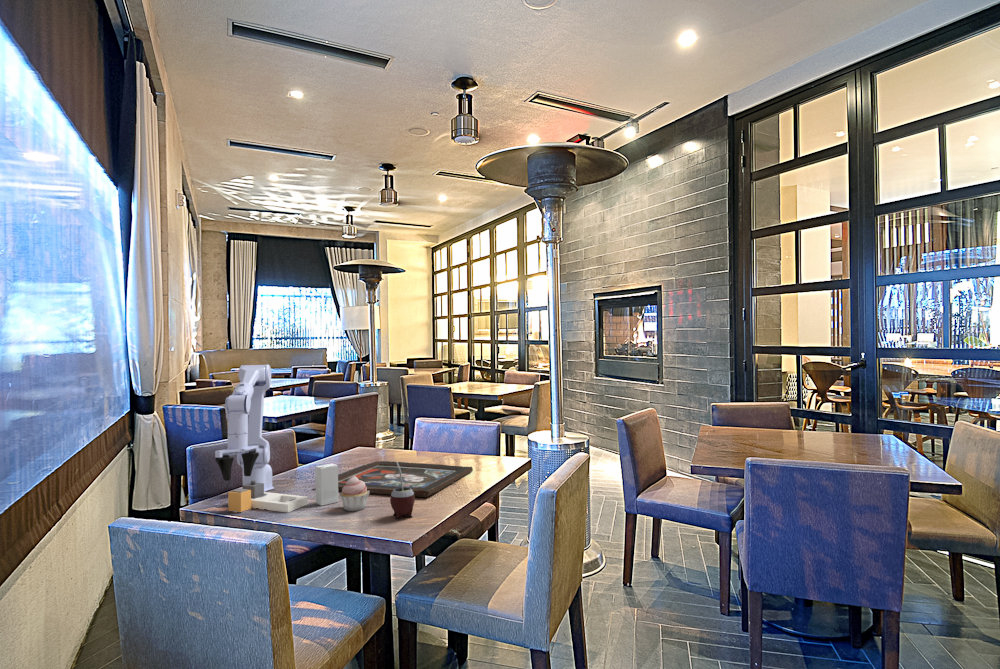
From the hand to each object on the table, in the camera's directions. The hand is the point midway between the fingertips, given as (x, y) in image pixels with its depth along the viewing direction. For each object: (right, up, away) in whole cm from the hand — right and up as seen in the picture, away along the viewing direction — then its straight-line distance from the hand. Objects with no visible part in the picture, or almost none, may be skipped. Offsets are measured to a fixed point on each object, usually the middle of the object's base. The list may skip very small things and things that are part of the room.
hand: (237, 478), depth 176 cm
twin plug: (+2, -10, +8) cm, 13 cm away
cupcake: (+36, -10, 0) cm, 37 cm away
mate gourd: (+52, -9, -8) cm, 54 cm away
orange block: (+1, -10, 0) cm, 10 cm away
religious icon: (+44, -10, +35) cm, 57 cm away
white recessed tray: (+7, -10, +6) cm, 13 cm away
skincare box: (+26, -10, +7) cm, 28 cm away
